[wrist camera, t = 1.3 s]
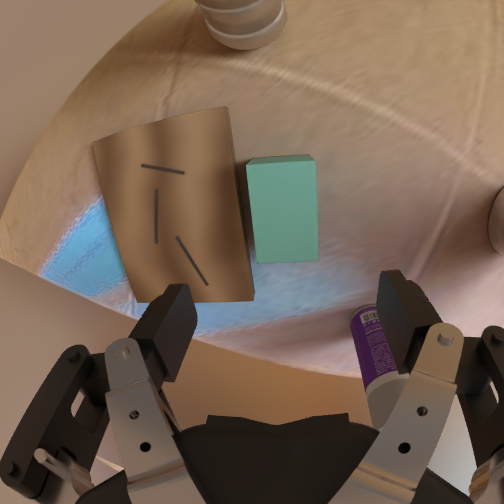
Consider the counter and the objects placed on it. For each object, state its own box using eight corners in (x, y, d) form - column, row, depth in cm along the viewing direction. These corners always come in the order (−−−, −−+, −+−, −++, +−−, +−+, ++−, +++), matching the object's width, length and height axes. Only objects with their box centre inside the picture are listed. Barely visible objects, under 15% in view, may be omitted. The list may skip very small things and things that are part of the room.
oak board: (227, 107, 22) (224, 106, 20) (254, 292, 30) (253, 301, 28) (100, 140, 24) (91, 142, 22) (142, 295, 32) (137, 303, 30)
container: (341, 327, 30) (362, 439, 17) (365, 298, 28) (402, 411, 15) (370, 338, 31) (397, 441, 18) (393, 311, 29) (435, 415, 15)
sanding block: (308, 154, 23) (315, 160, 18) (312, 237, 26) (318, 260, 22) (253, 157, 24) (245, 165, 19) (261, 239, 27) (257, 263, 23)
